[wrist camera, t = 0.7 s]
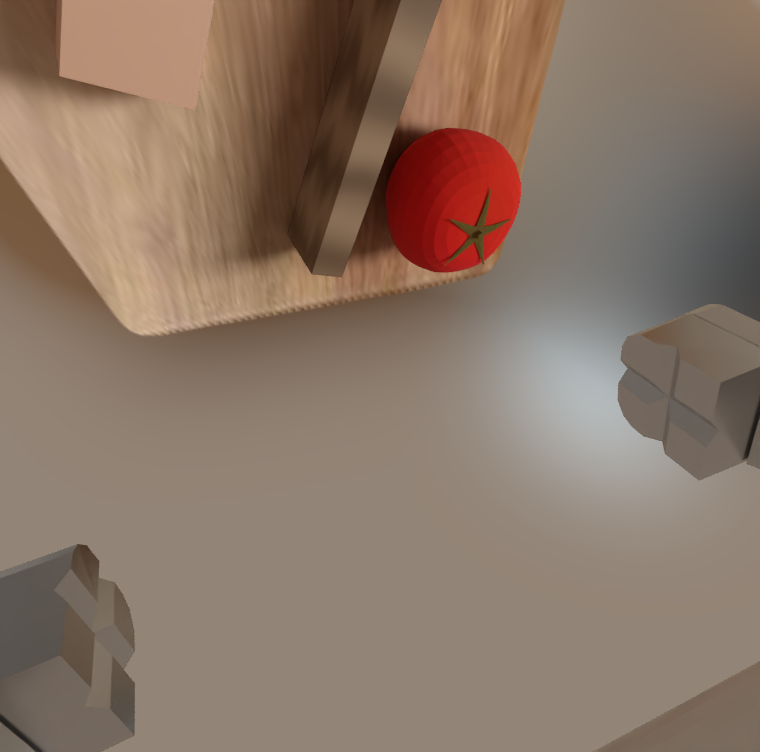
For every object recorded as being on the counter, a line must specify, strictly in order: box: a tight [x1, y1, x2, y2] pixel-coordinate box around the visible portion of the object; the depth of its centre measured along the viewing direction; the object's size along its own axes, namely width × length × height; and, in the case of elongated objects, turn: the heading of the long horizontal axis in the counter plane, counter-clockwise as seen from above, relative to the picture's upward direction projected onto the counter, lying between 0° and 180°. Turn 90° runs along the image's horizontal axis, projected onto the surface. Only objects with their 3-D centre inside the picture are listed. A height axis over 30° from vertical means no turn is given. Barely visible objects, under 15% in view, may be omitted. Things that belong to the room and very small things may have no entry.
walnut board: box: [288, 0, 442, 277], centre depth 44 cm, size 30×3×7 cm, turn 159°
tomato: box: [386, 128, 521, 272], centre depth 53 cm, size 12×13×11 cm
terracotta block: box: [55, 0, 214, 110], centre depth 36 cm, size 8×8×6 cm
